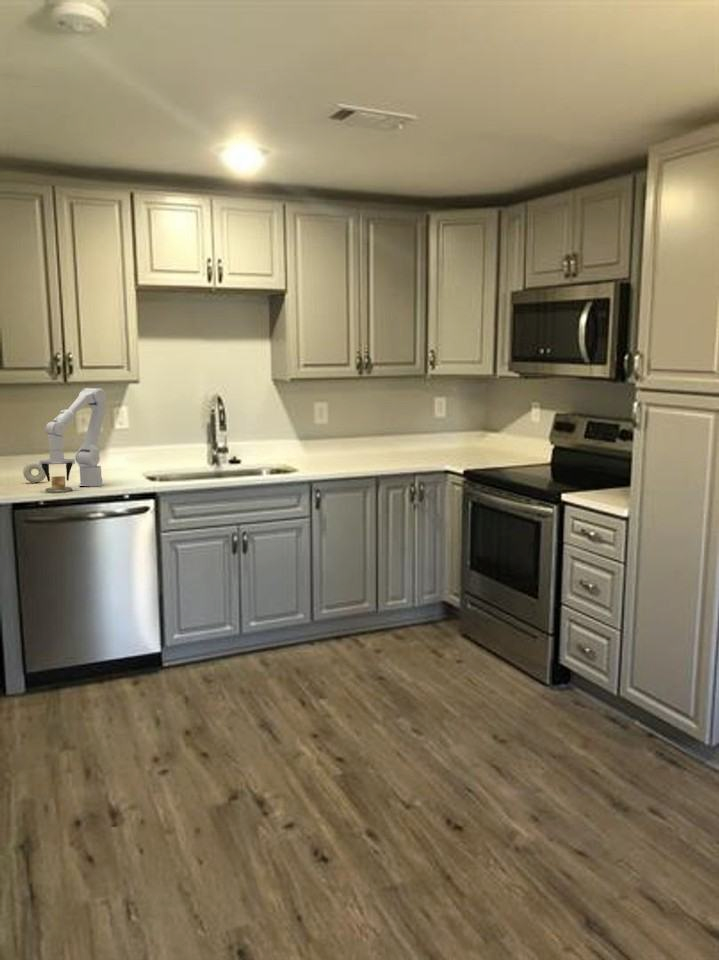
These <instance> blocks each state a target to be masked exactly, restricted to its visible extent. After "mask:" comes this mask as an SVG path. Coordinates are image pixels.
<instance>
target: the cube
mask: <svg viewBox="0 0 719 960" xmlns="http://www.w3.org/2000/svg"><path fill="white" fill-rule="evenodd" d="M50 481H51V487H52V490H61V489H65V487H66V477H65V475H61V476H60V475H58V476H52V477H50Z"/></svg>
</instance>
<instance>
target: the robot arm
mask: <svg viewBox="0 0 719 960" xmlns="http://www.w3.org/2000/svg"><path fill="white" fill-rule="evenodd" d="M107 398H108V395H107V394H106V392H105V390H103V388H101V387H100V388H99V387H98V388H90V387H84V388H83V389H82V390H81V391H80V392H79V393H78V397H76V399H75V400H74V401H73V402H72V404H71V405H70V406H69V407H68V408H67V409H63V410H60V412H59V414H58V415H57V416H56V417H55V418H53V419H52V421H50V422H48V423H47V424H46V425H45V427H44V431H45V434H46V435H47V438H48V448H49V449H48V450H49V451H48V452H49V459H39V460H38V462H39V465H42V468H43V470H44V472H45V474H46V476H45V477H46V479H47V482H50V481H51V476H50V465H65V469H66V470H65V471H66V481H70V479H69V478H70V473H71V469H72V467H73V465H75V464H78V467H79V479H80V480H79V481H80V483H79V485H78V487H79V486H90V487H102V485H103V476H102V466H101V465H98V464H99V462H100V459H101V457H100V453H101V451H100V449H99V447H98V442H99V438H100V434H101V430H102V426H103V422H104V417H105V414H106V411H107V409H106V408H107V407H106V401H107ZM85 405H87V406H88V407H90V409H91V413H90V418H89V422H88V427H87V431H86V435H85V439H84V442H83V443H82V444H81V446H80V447H78V451H77V452H76V454H75V456H74V457H75V458H65V454H64V439H63V434H65V433H66V430H67V429H66V428H67V427H68V426H69V425H70V424H71V422H72V421H73V420H74V419H75V415H76V414H77V412H79V411H80V410H81V409H82V408H83V407H84V406H85Z"/></svg>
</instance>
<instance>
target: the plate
mask: <svg viewBox="0 0 719 960" xmlns="http://www.w3.org/2000/svg"><path fill="white" fill-rule="evenodd" d="M44 490H45V491H46V492H45V493H47V492H48V493H47V494H64V493H68V492H69V491H70V492H72V491H73V487H72V486H65V489H61V490H52V486H51V487H46V488H45V489H44ZM71 490H72V491H71Z"/></svg>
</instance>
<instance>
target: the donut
mask: <svg viewBox="0 0 719 960" xmlns="http://www.w3.org/2000/svg"><path fill="white" fill-rule="evenodd" d="M33 470H36V471H37V472H38V474H37V475H33V474H32V471H33ZM22 473H23V477H24V479H25V480H26V481H28V482H29V483H32V484H37V483H36V482H38V483H41V482H42V481H44V479H46V477H47V476H46V474H45V472H44V470H43V468H42V465H39V461H30V462H28V463H26V465H25V466H24V468H23V471H22Z"/></svg>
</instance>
